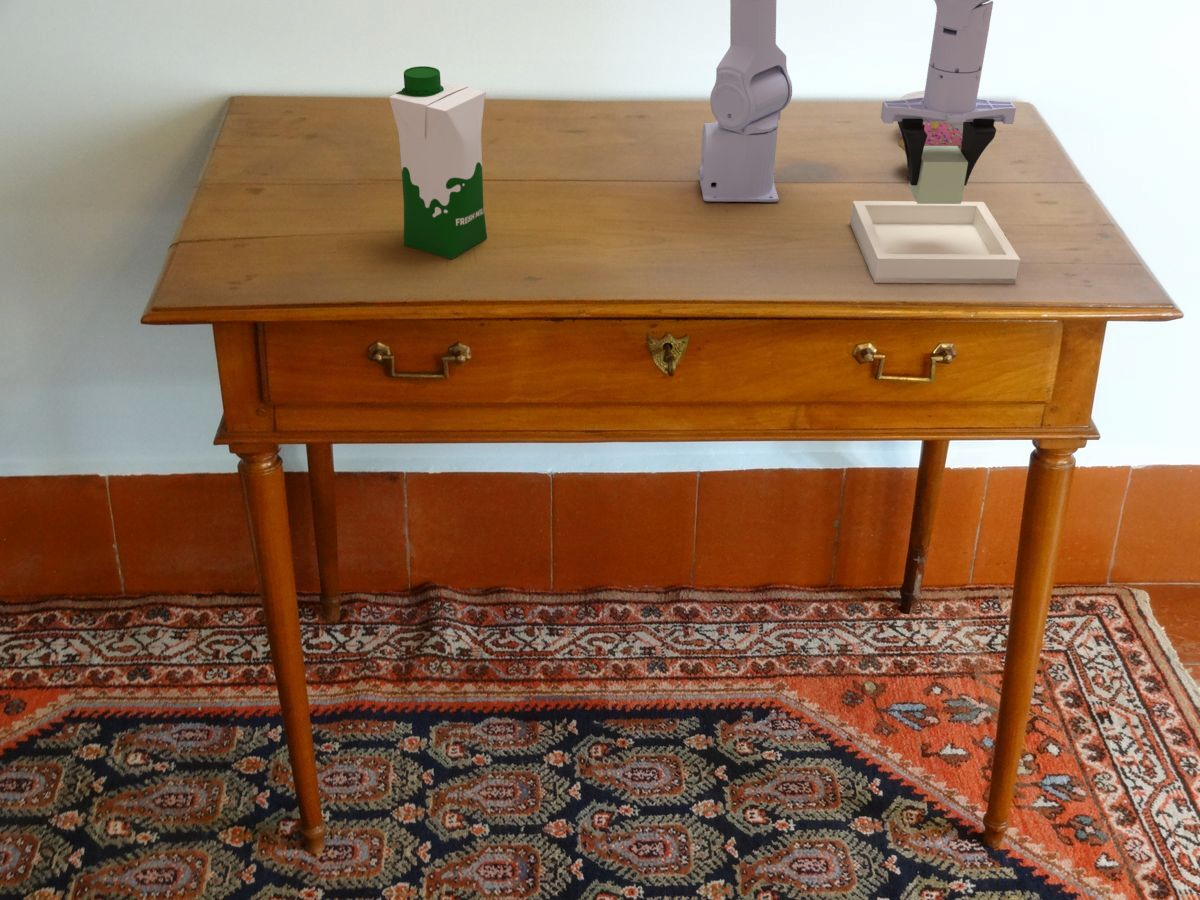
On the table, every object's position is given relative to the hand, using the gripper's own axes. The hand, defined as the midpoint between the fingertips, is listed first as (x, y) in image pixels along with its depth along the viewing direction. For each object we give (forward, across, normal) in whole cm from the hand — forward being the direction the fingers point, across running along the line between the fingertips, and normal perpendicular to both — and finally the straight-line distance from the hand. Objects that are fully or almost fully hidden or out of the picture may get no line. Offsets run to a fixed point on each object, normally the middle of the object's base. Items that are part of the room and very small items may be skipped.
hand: (936, 182), depth 155 cm
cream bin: (+8, 0, -1) cm, 9 cm away
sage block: (+2, 0, 0) cm, 2 cm away
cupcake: (+9, +5, +23) cm, 25 cm away
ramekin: (+9, +9, +36) cm, 38 cm away
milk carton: (+9, -57, +2) cm, 57 cm away
